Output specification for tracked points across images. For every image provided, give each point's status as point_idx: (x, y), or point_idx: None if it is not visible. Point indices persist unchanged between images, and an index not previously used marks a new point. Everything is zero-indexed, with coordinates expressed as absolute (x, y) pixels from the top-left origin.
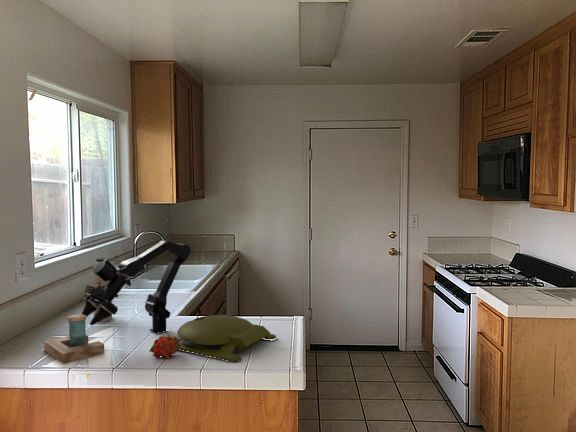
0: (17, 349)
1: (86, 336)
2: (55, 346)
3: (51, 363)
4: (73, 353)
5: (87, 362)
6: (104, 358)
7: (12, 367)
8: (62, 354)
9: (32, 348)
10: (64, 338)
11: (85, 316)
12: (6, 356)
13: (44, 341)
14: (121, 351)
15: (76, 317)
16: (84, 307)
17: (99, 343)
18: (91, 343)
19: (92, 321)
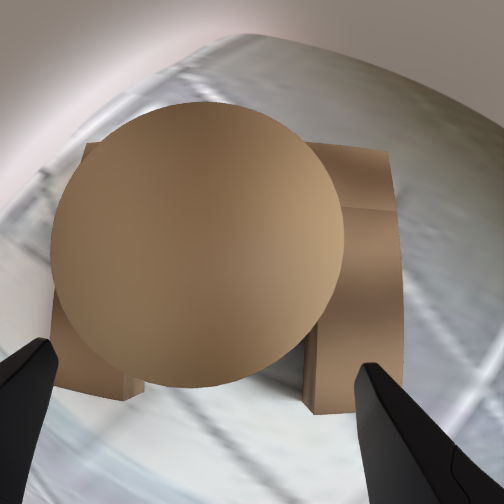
0: (439, 121)
1: (314, 400)
2: None
3: None
4: None
5: (38, 254)
6: (25, 335)
7: (237, 44)
8: (95, 144)
9: (425, 158)
10: (365, 255)
11: (95, 340)
12: (377, 69)
13: (380, 150)
14: (53, 446)
15: (153, 201)
16: (479, 482)
17: (77, 375)
18: None
19: (13, 360)
